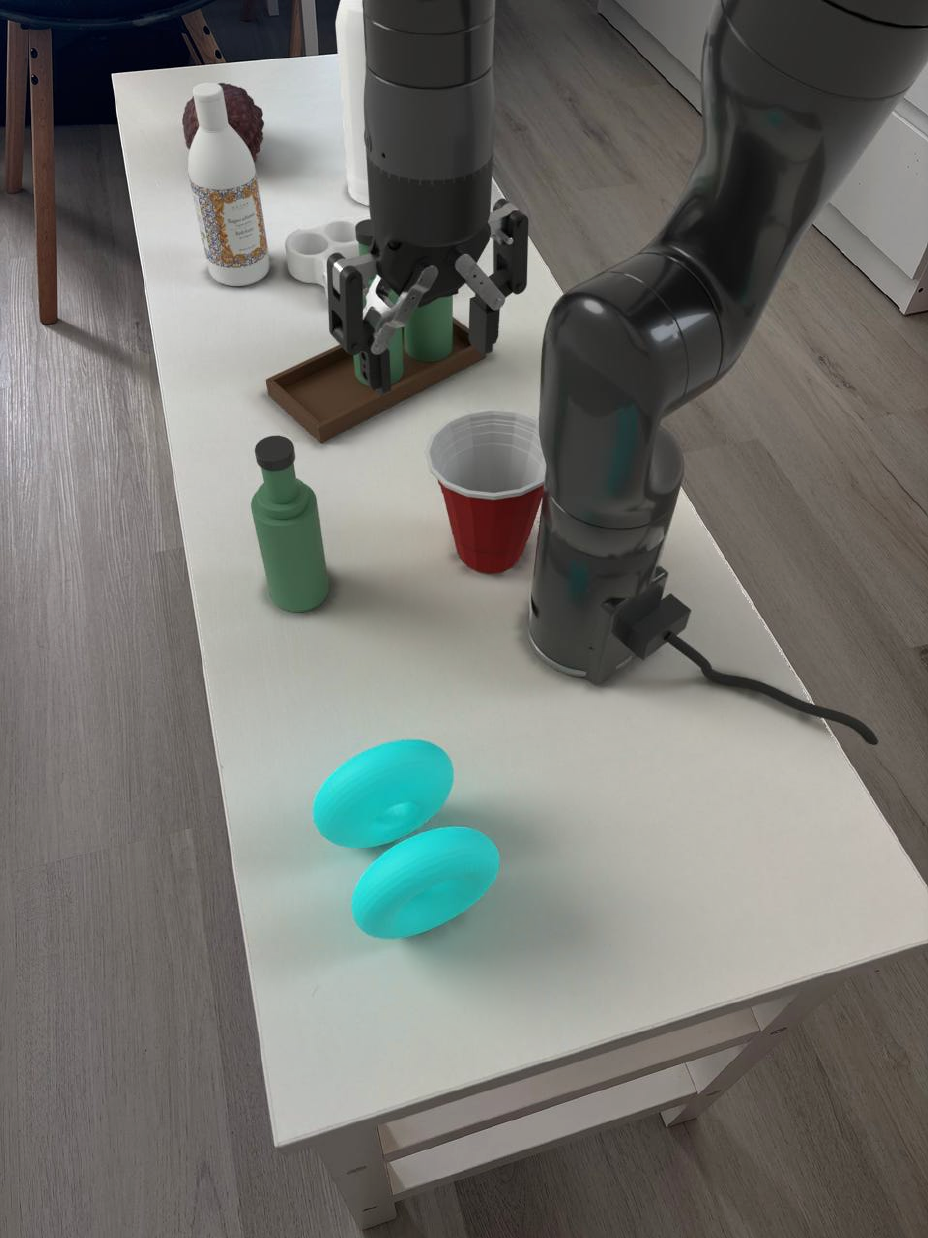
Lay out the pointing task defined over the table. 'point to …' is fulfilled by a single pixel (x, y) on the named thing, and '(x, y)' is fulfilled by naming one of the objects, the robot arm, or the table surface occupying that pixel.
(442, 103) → the robot arm
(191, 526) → the table surface
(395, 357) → the tray bottle
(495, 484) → the plastic cup
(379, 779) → the turquoise yo-yo
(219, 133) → the bath foam
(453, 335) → the tray
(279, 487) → the loose bottle
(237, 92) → the pine cone
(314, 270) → the white piece
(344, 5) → the bottle
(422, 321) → the tray bottle
